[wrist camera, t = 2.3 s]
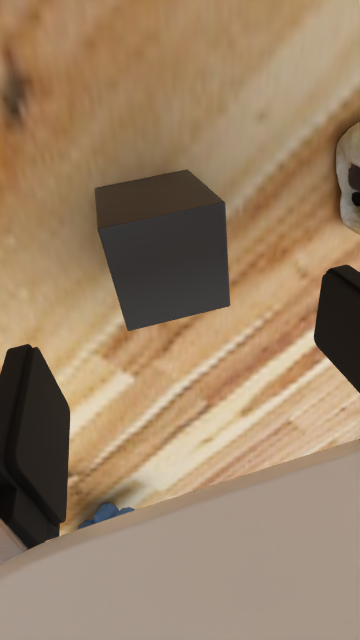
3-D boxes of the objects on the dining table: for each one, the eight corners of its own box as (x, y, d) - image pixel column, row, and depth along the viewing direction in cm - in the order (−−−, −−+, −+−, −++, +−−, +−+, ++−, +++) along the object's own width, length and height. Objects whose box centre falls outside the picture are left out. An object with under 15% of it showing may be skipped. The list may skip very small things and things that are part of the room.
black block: (188, 169, 17) (225, 201, 13) (197, 254, 20) (230, 306, 16) (94, 187, 17) (97, 228, 12) (118, 272, 20) (127, 331, 15)
